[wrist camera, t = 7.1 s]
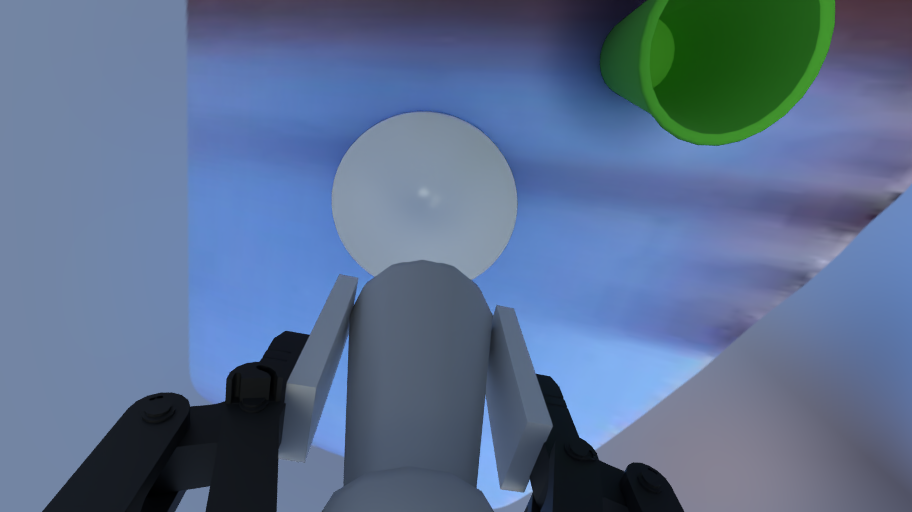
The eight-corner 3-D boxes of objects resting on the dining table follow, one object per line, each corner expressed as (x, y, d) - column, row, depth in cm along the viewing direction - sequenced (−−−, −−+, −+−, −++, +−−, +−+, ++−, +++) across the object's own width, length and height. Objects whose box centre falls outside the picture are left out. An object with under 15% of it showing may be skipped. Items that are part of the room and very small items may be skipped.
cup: (548, 94, 30) (603, 102, 20) (613, -45, 27) (718, -118, 17) (652, 143, 32) (752, 174, 22) (725, 18, 29) (881, -14, 19)
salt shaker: (436, 215, 18) (438, 489, 6) (509, 309, 20) (620, 656, 8) (333, 289, 19) (161, 644, 7) (411, 371, 21) (380, 757, 9)
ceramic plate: (468, 75, 30) (469, 75, 29) (541, 242, 35) (544, 247, 34) (298, 164, 32) (293, 167, 30) (391, 310, 37) (389, 317, 36)
